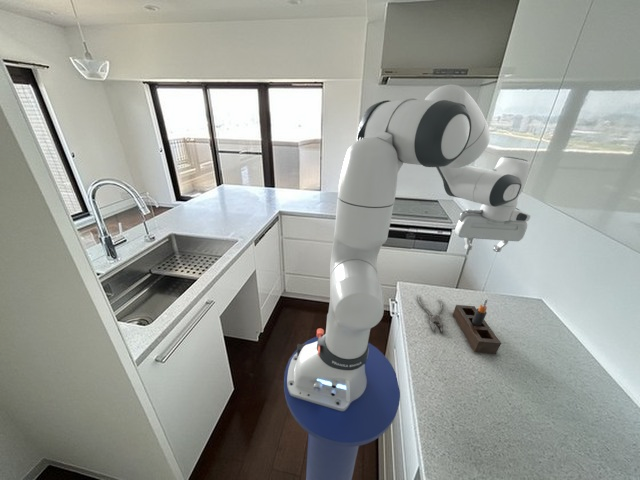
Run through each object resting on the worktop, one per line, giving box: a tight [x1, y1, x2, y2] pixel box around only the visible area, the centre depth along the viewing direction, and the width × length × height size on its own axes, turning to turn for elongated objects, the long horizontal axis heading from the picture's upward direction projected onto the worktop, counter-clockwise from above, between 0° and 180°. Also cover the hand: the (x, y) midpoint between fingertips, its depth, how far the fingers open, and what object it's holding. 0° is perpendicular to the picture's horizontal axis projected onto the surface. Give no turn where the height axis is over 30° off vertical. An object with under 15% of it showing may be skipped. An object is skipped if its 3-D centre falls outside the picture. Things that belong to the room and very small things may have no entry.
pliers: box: [417, 295, 444, 334], centre depth 99 cm, size 10×1×20 cm
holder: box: [452, 304, 502, 355], centre depth 90 cm, size 7×18×5 cm, turn 176°
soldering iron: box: [471, 298, 489, 327], centre depth 88 cm, size 3×3×15 cm
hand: (481, 250), depth 86 cm, fingers open, 8 cm apart
